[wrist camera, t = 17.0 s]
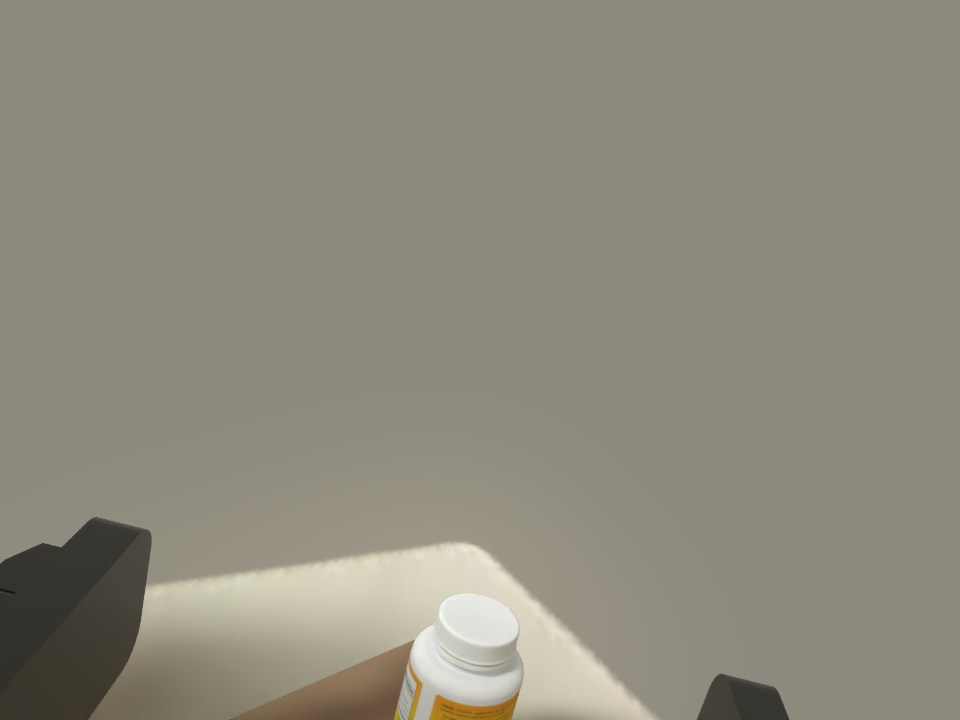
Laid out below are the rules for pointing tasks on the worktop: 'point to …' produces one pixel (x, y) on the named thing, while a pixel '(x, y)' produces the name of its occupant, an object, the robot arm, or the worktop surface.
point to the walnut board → (345, 693)
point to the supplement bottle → (464, 664)
